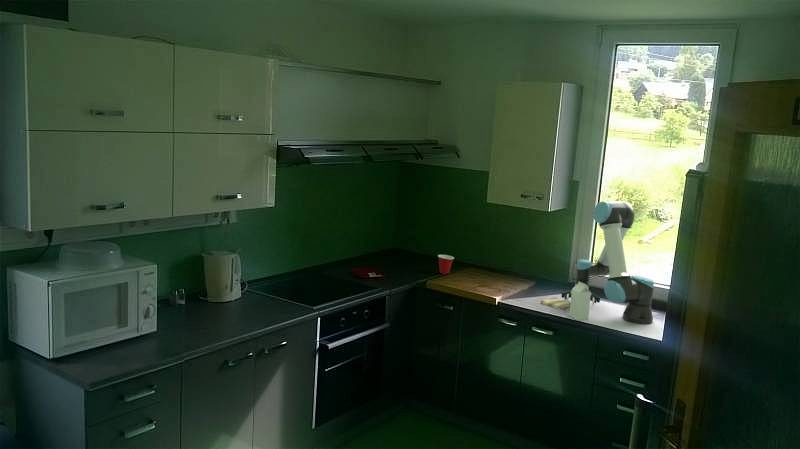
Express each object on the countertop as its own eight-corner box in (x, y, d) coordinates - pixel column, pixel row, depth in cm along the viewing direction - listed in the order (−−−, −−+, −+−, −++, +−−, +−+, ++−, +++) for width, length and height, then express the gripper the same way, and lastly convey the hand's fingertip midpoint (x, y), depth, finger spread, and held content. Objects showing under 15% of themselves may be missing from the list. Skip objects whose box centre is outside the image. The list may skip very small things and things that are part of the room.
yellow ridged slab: (577, 306, 356) (577, 303, 356) (563, 310, 347) (563, 307, 347) (554, 299, 367) (554, 297, 367) (540, 303, 358) (540, 300, 358)
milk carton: (576, 320, 330) (579, 285, 327) (568, 315, 337) (572, 281, 334) (587, 319, 332) (591, 285, 329) (580, 315, 339) (584, 281, 336)
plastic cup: (455, 276, 409) (456, 257, 407) (439, 276, 406) (440, 257, 404) (450, 271, 419) (451, 254, 417) (434, 271, 416) (435, 254, 414)
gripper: (603, 300, 347) (603, 311, 327) (557, 294, 354) (555, 304, 334) (605, 287, 346) (605, 297, 326) (559, 281, 353) (556, 291, 333)
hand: (580, 301), depth 330 cm, fingers open, 12 cm apart
